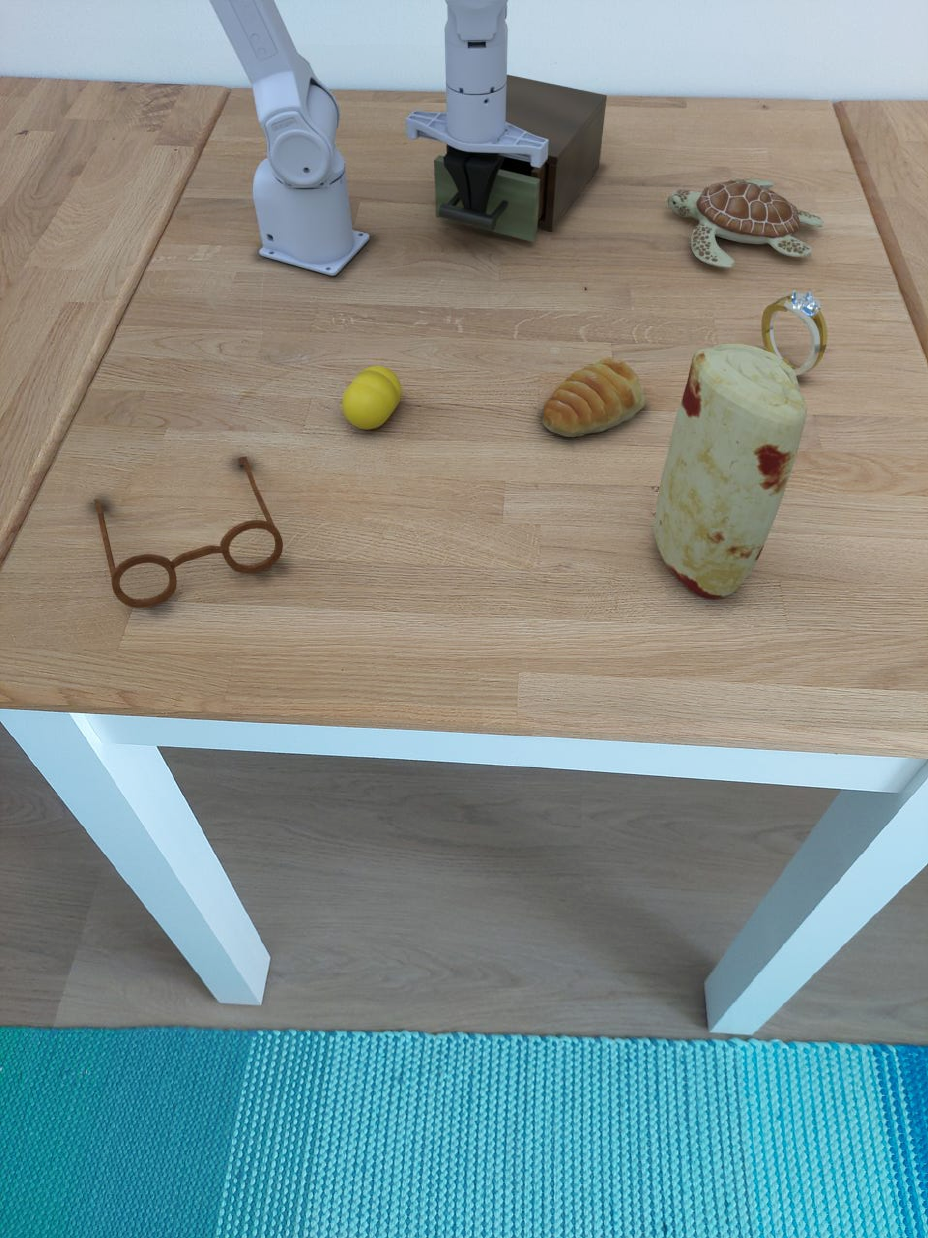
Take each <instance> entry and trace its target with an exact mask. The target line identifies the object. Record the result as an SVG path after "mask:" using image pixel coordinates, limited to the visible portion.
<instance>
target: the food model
mask: <svg viewBox="0 0 928 1238" xmlns="http://www.w3.org/2000/svg"><path fill="white" fill-rule="evenodd" d="M690 363H691V364H690V368H689V373H688V376H687V381H686V384H685V387H684V390H683V394H682V396H681V400H680V403H679V406H678V409H677V412H676V416H675V419H674V423H673V426H672V430H671V435H670V440H669V444H668V448H667V454H666V458H665V463H664V466H663V471H662V475H661V478H660V483H659V487H658V493H657V500H656V509H655V515H654V516H655V517H654V519H653V521H654V522H653V525H652V529H653V530H652V531H653V536H654V540H655V542H656V546H657V549H658V551H659V553H660V556H661V558H662V560H663V561H664V563H665V565H666V566H667V568H668V569H669V571H670V572H671V573H672V575H674V577H675V578H676V579H677V580H678V581H679V582H680V583H681V584H682V585H683V586H685V587H686V588H687V589H688V590H689V591H690V592H691V593H694V594H696V595H698V596H700V597H701V598H706V599H710V600H717V599H721V598H725V597H728V596H730V595H732V594H733V593H735V591H737V589H738V588H740V586H741V585H742V584H743V583H744V581H746V579H747V578H748V576H749V575H750V574H751V572H752V571H753V570H754V568H755V566H756V564H757V561H758V559H759V558H760V555H761V553H762V551H763V549H764V547H765V544H766V542H767V539H768V537H769V535H770V532H771V530H772V526H773V524H774V522H775V519H776V517H777V514H778V511H779V508H780V506H781V504H782V500H783V497H784V495H785V492H786V489H787V487H788V483H789V479H790V477H791V474H792V471H793V467H794V464H795V460H796V457H797V454H798V450H799V447H800V443H801V439H802V437H803V433H804V428H805V424H806V420H807V415H808V405H807V403H806V402H807V401H806V400H805V398H804V397H803V395H802V394H801V393H800V386H799V381H798V378H797V376H796V375H795V372H794V370H793V369H792V368H791V367H790V366H789V365H787V364H786V363H785V362H784V361H783V360H781V359H780V358H779V357H778V356H777V355H775V354H774V353H771V352H768V351H766V349H763V348H760V347H758V346H753V345H749V344H745V343H722V344H717V345H714V346H710V347H706V348H700V349H698V350H697V351H695V353H694V354H693V356H692V358H691V362H690Z"/></svg>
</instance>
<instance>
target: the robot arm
mask: <svg viewBox="0 0 928 1238" xmlns="http://www.w3.org/2000/svg"><path fill="white" fill-rule="evenodd" d="M208 1H209V3H210V5H211V7H212V9H213V11H214V13H215V15H216V17H217V19H218V21H219V23H220V25H221V27H222V29H223V30H224V33H225V34H226V38H227V39H228V41H229V43H230V44H231V47H232V49H233V51H234V53H235V55H236V57H237V58H238V61H239V63H240V64H241V67H242V69H243V71H244V73H245V75H246V76H247V78H248V81H249V83H250V84H251V88H252V92H253V93H252V94H253V98H254V104H255V108H256V114H257V119H258V123H259V125H260V127H261V129H262V130H263V133H264V135H265V138H266V155H267V157H265V158H264V159H263V160H262V161H261V162H260V163H259V165H258V166H257V169H256V171H255V173H254V176H253V181H252V182H253V183H252V198H253V203H254V209H255V213H256V218H257V223H258V228H259V234H260V239H261V244H262V247H261V248H260V249H259V250H258V252H259V253H258V254H259V255H260V256H261V257H264V258H267V259H271V260H274V261H278V262H281V263H285V264H289V265H292V266H295V267H299V268H303V269H306V270H310V271H313V272H317V273H320V274H324V275H327V276H331V277H334V276H337V275H338V274H339V273H340V271H342V269H343V268H345V266H346V265H347V264H348V263H349V262H350V261H351V260H352V259H353V258H354V257H355V256H356V255H357V253H358V252H359V251H360V250H361V249H362V248H363V247H364V246H365V245H366V244H367V243H368V242H369V241H370V239H371V238H370V234H369V233H367V232H362V231H359V230H355V229H353V220H352V212H351V203H350V195H349V186H348V185H349V184H348V177H347V169H346V160H345V158H344V155H342V153H341V152H340V150H339V149H338V147H337V145H336V137H337V129H338V128H339V123H340V117H341V112H340V106H339V103H338V101H337V99H336V97H335V95H334V94H333V92H332V91H331V90H330V89H329V88H328V87H327V86H326V85H325V84H323V83H322V81H320V79H319V78H318V77H317V76H316V74H315V72H314V70H313V68H312V65H311V63H310V61H309V60H307V59H306V58H305V57H303V56H302V55H301V53H299V52H298V50H297V49H296V46H295V44H294V41H293V40H292V38H291V35H290V33H289V30H288V29H287V26H286V24H285V22H284V19H283V17H282V15H281V13H280V10H279V9H278V6H277V4H276V1H275V0H208ZM444 1H445V4H446V11H447V12H446V13H447V14H446V15H447V20H446V23H445V26H444V64H445V69H444V71H445V105H446V108H445V109H446V112H439V111H438V112H435V111H423V110H418V109H414V110H413V111H412V112H411V113H410V114H409V115H408V116H407V117H406V118H405V129H406V131H405V132H406V138H407V139H411V140H417V139H418V138H423V139H427V140H431V141H434V142H435V141H436V142H441V143H443V144H445V145H446V144H448V150H446V153H445V154H444V155H443V156H444V157H443V162H444V166H445V168H446V169H447V171H448V172H449V174H450V175H451V177H452V179H453V181H454V183H455V185H456V187H457V189H458V192H459V194H460V197H461V200H462V204H463V207H464V208H465V209H469V210H473V211H477V212H481V213H485V214H486V209H487V204H488V200H489V196H490V193H491V189H492V186H493V183H494V181H495V178H496V176H497V173H498V171H499V169H500V167H501V165H502V163H503V161H504V159H505V157H510V158H514V159H519V160H523V161H527V162H531V166H533V167H537V168H540V167H541V166H542V165H543V164H544V163H545V161H546V160H547V159H548V143H549V140H548V139H545V138H541V137H538V136H535V135H533V134H531V133H529V132H526V131H524V130H522V129H520V128H518V127H516V126H514V125H512V124H510V123H507V122H506V81H507V75H508V42H509V40H508V39H509V38H508V37H509V28H508V24H507V21H506V20H507V17H508V2H509V0H444ZM447 151H448V152H447Z"/></svg>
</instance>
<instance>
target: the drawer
mask: <svg viewBox="0 0 928 1238" xmlns="http://www.w3.org/2000/svg"><path fill="white" fill-rule="evenodd" d="M444 156H445V155H441V154H438V155H437V156H436V157H435V158H434V159H433V170H434V171H433V173H434V200H435V202H434V203H435V218H438V219H442V220H445V221H449V222H454V223H458V224H461V225H465V226H469V227H473V228H477V229H480V230H485V231H489V232H493V233H497V234H501V235H504V236H508V237H513V238H516V239H520V240H524V241H528V242H534V241H535V239H536V238H537V236H538V228H537V223H538V220H539V219H540V218H541V217H542V215H543V214H544V213H545V211H546V201H547V186H548V171H549V164H548V163H544V164H543V165H542V166H541V167H540V168H537V167H533V166H531V162H527V161H523V160H519V159H514V158H510V157H505V159H504V161H503V163H502V165H501V167H500V169H499V171H498V173H497V176H496V178H495V181H494V183H493V186H492V189H491V193H490V196H489V200H488V204H487V209H486V214H485V213H481V212H477V211H473V210H469V209H465V208H464V207H463V204H462V200H461V197H460V194H459V192H458V189H457V187H456V185H455V183H454V181H453V179H452V177H451V175H450V174H449V172H448V171H447V169H446V168H445V166H444V162H443V157H444Z"/></svg>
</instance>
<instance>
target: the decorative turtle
mask: <svg viewBox="0 0 928 1238" xmlns="http://www.w3.org/2000/svg"><path fill="white" fill-rule="evenodd" d="M773 186H774V182H772V181H770V180H764V179H755V178H738V179H737V178H736V179H734V178H733V179H729V180H726V181H721V182H716V183H712V184H710V185H708V186H706V187H705V188H703V189H702V191H695V190H691V189H683V188H681V189H677V190H675V191H674V192H673V193H672V194H671V195H669V196H668V198H667V206H668V207H669V209H670V210H671V211H672V212H673V213H675V214H676V215H677V216H680V217H685V218H694V219H695V220H696V221H698V224H697V225H696V226H695V227H694V228H693V231H692V233H691V235H690V248H691V251H692V252H693V255H694V256H695V257H696V258H697V259H698V260H700V261H701V262H703V263H705V264H706V265H710V266H713V267H717V268H718V267H719V268H723V269H730V268H732V267H733V266H734V265H735V261H734V259H733V258H732V257H731V256H730V255H728V253H726V252H725V251H724V250H723V249H722V248H721V247H720V246H719V244H718V243H717V240H716V237H718V238H721V239H724V240H725V239H726V240H728V241H733V242H736V243H741V244H750V245H751V244H752V245H764V244H769V245H770V246H771V247H772V248H773V249H774V250H775V251H777V252H778V253H779V254H782V255H784V256H787V257H791V258H792V257H793V258H806V257H808V256H810V255H811V253H812V252H813V248H812V247H811V246H810V245H808V243H805V242H803V241H801V240H800V239H798V238H796V237H794V236H793V235H795V234H796V233H797V232H798V231H799V228H800V226H801V224H804V225H807V226H811V227H817V228H821V227H823V226H824V223H825V222H824V220H823V219H822V218H821V217H820V216H818V215H815V214H812V213H810V212H807V211H806V210H805V211H804V210H802V209H799V208H797V206H795V205H794V203H791V202H790V201H788V200H787V199H786V198H785V197H783V196H781V195H780V194H778V193H776V192H775V191H773V190H771V189H772V187H773Z"/></svg>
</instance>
